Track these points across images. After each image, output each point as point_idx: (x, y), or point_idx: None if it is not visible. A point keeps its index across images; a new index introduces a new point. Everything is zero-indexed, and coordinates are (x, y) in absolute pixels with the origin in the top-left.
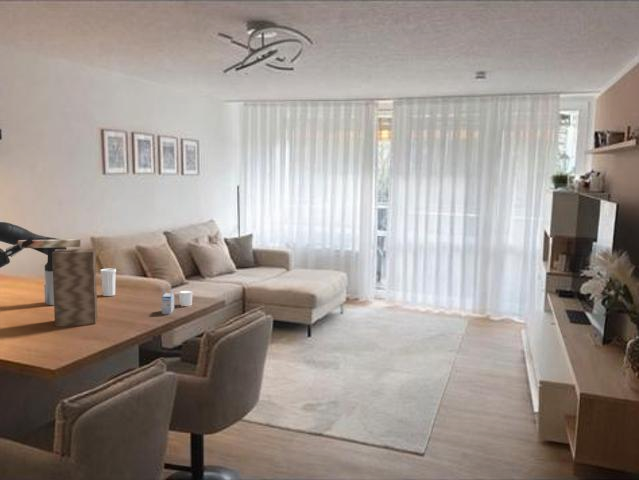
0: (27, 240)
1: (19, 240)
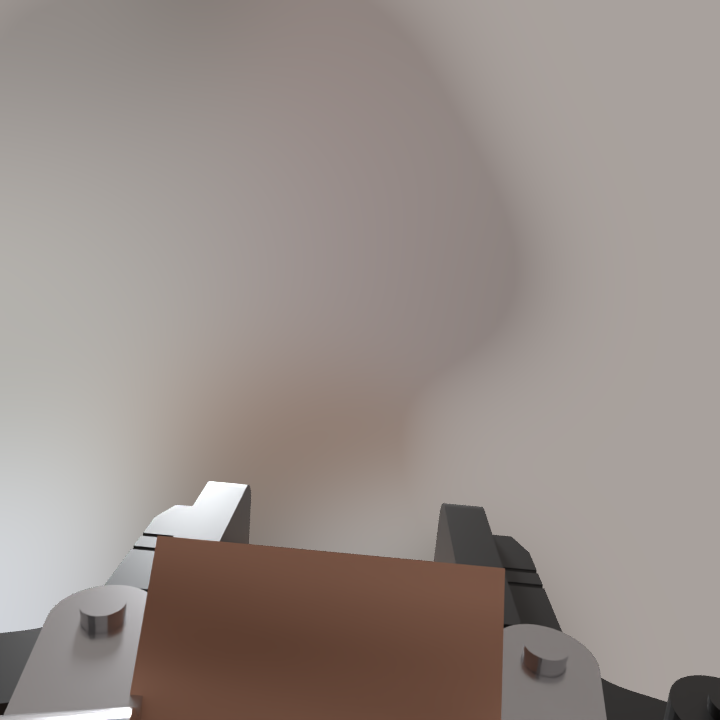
0: (489, 548)
1: (262, 545)
